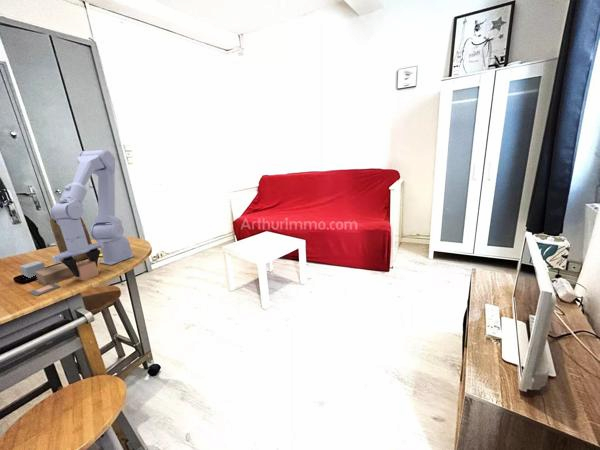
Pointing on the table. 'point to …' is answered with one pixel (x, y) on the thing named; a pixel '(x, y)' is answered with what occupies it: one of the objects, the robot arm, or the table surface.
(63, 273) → the walnut base
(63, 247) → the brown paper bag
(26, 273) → the grey cube
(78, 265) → the terracotta cube
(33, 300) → the table surface
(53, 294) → the table surface
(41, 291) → the card
